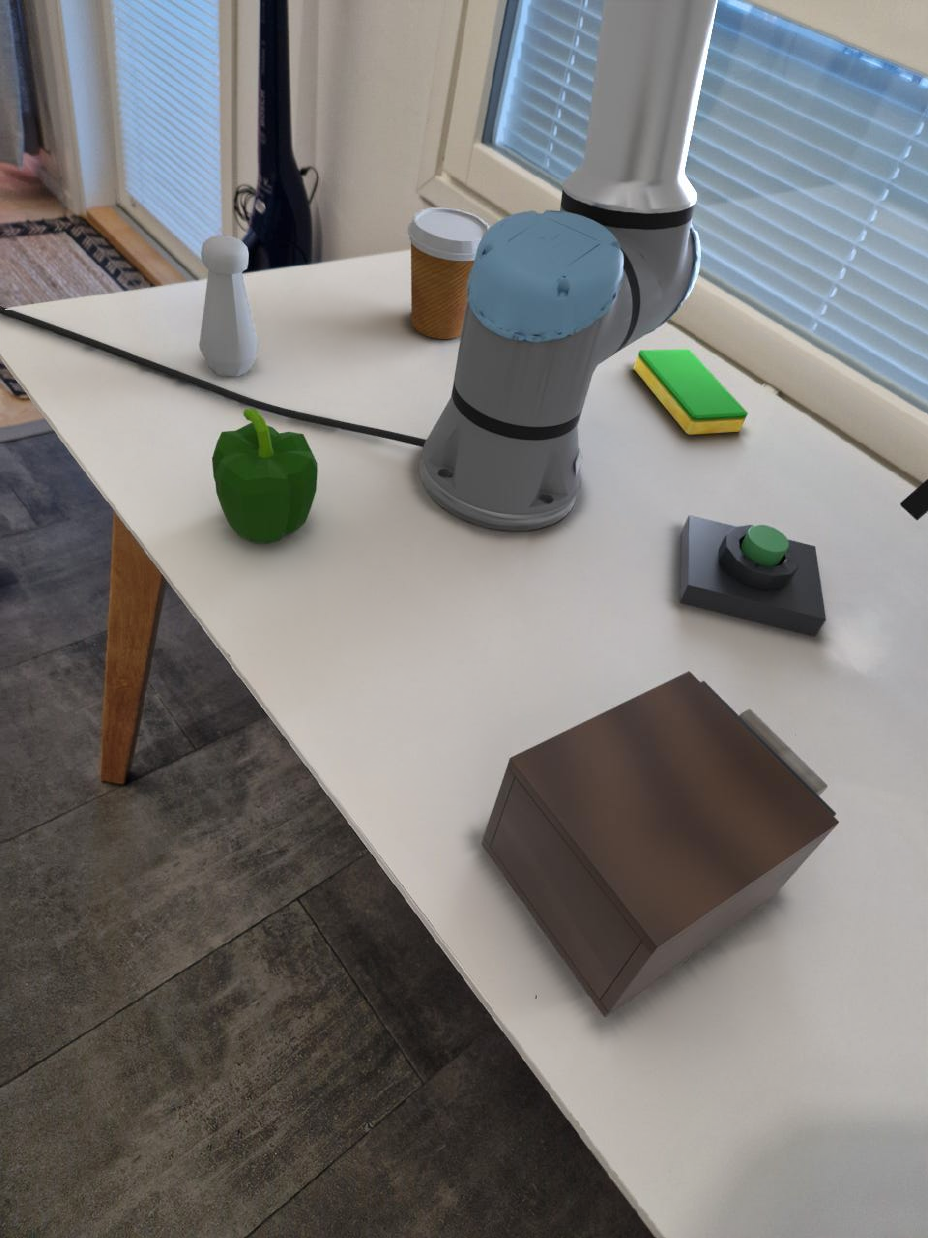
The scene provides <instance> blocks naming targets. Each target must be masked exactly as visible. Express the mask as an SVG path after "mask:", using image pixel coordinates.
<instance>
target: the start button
mask: <svg viewBox="0 0 928 1238" xmlns="http://www.w3.org/2000/svg"><path fill="white" fill-rule="evenodd" d="M787 539H788V538H787V537H786V535H785V534H784V533H783V532H781V531H780V530H778V529H777V528H775V527H772V526H770V525H766V524H756V525H754V526H753V527H751V528H750V529H749V530H748V532H747V534H746V536H745V538H744V540H743V542H742V544H741V551H742V552H743V553H744V554H745V556H746V557H748V558H750V559H751V560H753V561H755V562H756V563H758V564H762V565H766V566H776V565H778V564H779V563H780V561H781V560H782V558H783V556H784V554H785V552H786V551H787V549H788V547H789V542H788V540H789V539H788V540H787Z"/></svg>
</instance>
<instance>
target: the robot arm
mask: <svg viewBox="0 0 928 1238" xmlns="http://www.w3.org/2000/svg"><path fill="white" fill-rule="evenodd" d="M717 5H718V0H603V5H602V13H601V21H600V29H599V38H598V45H597V52H596V62H595V69H594V70H595V71H594V76H593V84H592V92H591V99H590V107H589V114H588V124H587V132H586V138H585V147H584V155H583V160H582V162H581V164H580V165H579V166H578V167H577V168H576V169H575V170H574V171H572V172H571V173H570V174H569V175H568V176H567V177H566V178H565V179H563V180H564V181H563V183H562V189H561V197H560V198H561V199H560V207H559V210H554V209H545V211H544V212H543V213H540V212H537V211H536V210H534V209H533V210H526V211H525V210H524V211H520V212H515V213H513V214H510V215H507V216H506V217H503V218H502V219H500V220H498V221H496V222H495V223H494V224H493V225H491V226H490V228H489V229H488V230H487V232H486V233H485V234H484V236H483V237H482V239H481V241H480V243H479V245H478V248H477V252H476V256H475V261H474V264H473V266H472V268H471V271H470V275H469V279H468V283H467V301H466V308H465V314H464V320H463V327H462V333H461V335H460V340H459V346H458V352H457V359H456V366H455V371H454V377H453V383H452V390H451V395H450V398H449V400H448V401H447V403H446V405H445V407H444V408H443V410H442V412H441V414H440V415H439V417H438V419H437V421H436V423H435V424H434V426H433V428H432V430H431V432H430V433H429V435H428V437H427V438H422V437H421V438H420V437H418V436H412V435H408V434H403V433H399V432H395V431H390V430H387V429H386V430H385V429H381V428H376V427H371V426H366V425H361V424H357V423H352V422H346V421H343V420H338V419H334V418H329V417H325V416H320V415H315V414H312V413H311V414H310V413H307V412H301V411H297V410H293V409H289V408H285V407H281V406H278V405H274V404H270V403H266V402H263V401H261V400H257V399H254V398H253V397H252V398H251V397H248V396H246V395H243V394H240V393H237V392H234V391H232V390H230V389H227V388H225V387H222V386H219V385H217V384H214V383H212V382H210V381H206V380H204V379H201V378H198V377H195V376H194V375H191V374H187V373H185V372H182V371H180V370H176V369H174V368H171V367H169V366H166V365H163V364H161V363H158V362H155V361H153V360H150V359H147V358H144V357H142V356H139V355H136V354H134V353H131V352H129V351H126V350H123V349H120V348H117V347H115V346H112V345H110V344H108V343H105V342H102V341H99V340H97V339H94V338H91V337H88V336H85V335H83V334H80V333H77V332H74V331H71V330H69V329H66V328H64V327H62V326H58V325H56V324H53V323H50V322H47V321H44V320H42V319H39V318H36V317H33V316H31V315H28V314H26V313H22V312H19V311H16V310H13V309H11V310H5V309H9V308H8V307H5V306H2V305H0V315H3V316H5V317H8V318H12V319H14V320H17V321H20V322H23V323H26V324H28V325H31V326H35V327H36V328H39V329H42V330H46V331H48V332H51V333H52V334H53V333H54V334H56V335H58V336H62V337H65V338H67V339H70V340H72V341H75V342H78V343H80V344H83V345H86V346H88V347H91V348H94V349H96V350H100V351H102V352H105V353H107V354H110V355H113V356H115V357H117V358H120V359H124V360H125V361H128V362H132V363H133V364H135V365H139V366H142V367H145V368H148V369H150V370H153V371H156V372H158V373H161V374H163V375H166V376H169V377H171V378H174V379H177V380H179V381H182V382H185V383H188V384H190V385H193V386H195V387H199V388H201V389H204V390H206V391H208V392H211V393H214V394H217V395H219V396H222V397H224V398H227V399H229V400H232V401H234V402H237V403H240V404H241V405H242V404H243V405H245V406H249V407H250V408H253V409H257V410H261V411H264V412H268V413H271V414H274V415H278V416H281V417H285V418H288V419H294V420H297V421H298V420H299V421H302V422H306V423H307V422H308V423H312V424H317V425H320V426H326V427H331V428H336V429H340V430H344V431H347V432H348V431H349V432H353V433H358V434H363V435H367V436H372V437H378V438H382V439H386V440H391V441H395V442H399V443H404V444H409V445H411V446H417V447H422V451H421V459H420V466H419V474H420V479H421V480H420V481H421V482H422V484H423V487H424V489H425V490H426V492H427V493H428V495H429V496H430V497H431V498H432V499H433V500H434V501H435V502H436V503H437V504H438V505H439V506H441V507H442V508H443V509H444V510H445V511H447V512H448V513H451V515H454V516H456V517H458V518H460V519H462V520H464V521H467V522H469V523H471V524H474V525H477V526H481V527H484V528H489V529H494V530H500V531H508V532H509V531H510V532H511V531H513V532H521V531H522V532H523V531H533V530H538V529H542V528H545V527H549V526H552V525H554V524H555V523H558V522H559V521H560V520H562V519H563V518H565V517H566V516H567V515H568V514H569V513H570V512H571V510H572V509H573V508H574V505H575V504H576V500H577V497H578V495H579V491H580V488H581V483H582V470H581V469H582V468H581V464H582V462H583V445H581V447H580V441H579V429H578V428H579V427H578V426H579V422H580V418H581V414H582V413H583V412H582V411H583V408H584V405H585V402H586V399H587V395H588V391H589V388H590V384H591V382H592V378H593V375H594V373H595V371H596V369H597V367H598V366H599V365H600V364H602V363H603V362H605V361H607V360H608V359H610V358H611V357H612V356H614V355H615V354H617V353H618V352H620V351H622V350H623V349H625V348H626V347H628V346H629V345H632V344H634V342H636V341H638V340H639V339H641V338H643V337H644V336H646V335H648V334H651V333H652V332H654V331H655V330H657V329H658V328H660V327H662V326H663V325H665V323H667V322H668V321H669V320H670V319H671V318H672V317H673V315H674V314H676V313H677V311H678V310H679V309H680V308H681V307H682V306H683V305H684V304H685V302H686V301H687V300H688V298H689V296H690V294H691V292H692V291H693V289H694V287H695V284H696V282H697V279H698V276H699V272H700V268H701V258H702V257H701V255H702V254H701V242H700V237H699V234H698V232H697V230H695V227H694V225H693V218H694V212H695V207H696V202H697V195H698V194H697V192H696V190H695V188H694V187H693V185H692V184H691V182H690V181H689V179H688V178H687V176H686V175H685V168H686V163H687V158H688V152H689V148H690V142H691V138H692V133H693V128H694V124H695V123H694V122H695V117H696V112H697V107H698V102H699V97H700V91H701V88H702V87H701V86H702V82H703V77H704V72H705V66H706V61H707V58H708V57H707V56H708V52H709V51H708V49H709V46H710V41H711V36H712V30H713V26H714V20H715V15H716V10H717V7H718V6H717ZM899 505H900V507H901V508H902V509H903V510H905V511H906V512H907V513H908V514H909V515H910V516H911V517H912V518H914V520H915V521H918V520H920V519H921V518H922V517H924V516H925V515H926V514H927V513H928V478H927V479H925V481H924V482H922V483H921V484H920V485H919V486H918V487H917V488H915V489H914V490H913V491H912V492H910V494H908V495H907V497H905V498H904V499H903V500H902V501H900V502H899Z"/></svg>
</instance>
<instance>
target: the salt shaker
mask: <svg viewBox="0 0 928 1238" xmlns="http://www.w3.org/2000/svg"><path fill="white" fill-rule="evenodd" d="M200 257H201V262H202V265H203V266H204V267H205V268H206V269H207V270H208V272H207V279H206V288H205V295H204V303H203V312H202V319H201V328H200V336H199V337H200V338H199V345H198V346H199V350H200V352H201V355H202V356H203V359H204V361H205V362H206V364H207V367H208V368H209V369H210V370H212V371H213V372H214V373H216V374H217V375H218V376H222V377H235V378H237V377H238V378H239V377H241V376H242V375H244V374H246V373H248V372H250V371H251V369H252V367H253V365H254V363H255V360H256V359H257V357H258V352H259V342H258V341H259V340H258V336H257V332H256V328H255V322H254V320H253V314H252V310H251V306H250V302H249V298H248V293H247V288H246V284H245V280H244V274H243V272H244V271H246V270H247V269H248V267H249V257H250V253H249V248H248V246H247V245H246V244H245V243H244V242H243V241H242V240H241V239H239V238H237V237H234V236H230V235H227V234H226V235H224V234H223V235H221V234H220V235H219V234H217V235H213V236H210V237H208V238H206V239H205V240H204V241H203V242H202V245H201V251H200Z"/></svg>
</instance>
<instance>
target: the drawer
mask: <svg viewBox="0 0 928 1238" xmlns="http://www.w3.org/2000/svg"><path fill="white" fill-rule="evenodd" d="M700 682H701V683H702V684H703V685H704V686H705V687H706V688H707V689H708V690H709V691H710V692H711V693H712V694H713V695H714V696H715V697H716V699H717V700H718V701H719V702H720V703H721V704H722V705H723V706H724V707H725V708H726V709H727V710H728V711H729V712H730V713H731V714H732V715H733V716H734V717H735V718H736V719H737V720H738V721H739V722H740V723H741V724H742V725H743V726H744V727H745V728H746V729H747V730H748V731H749V732H750V733H751V734H752V735H753V736H754V737H755V738H756V739H757V740H758V741H759V742H760V743H761V744H762V745H763V746H764V747H765V748H766V749H767V750H768V751H769V752H770V753H771V754H772V755H773V756H774V757H775V758H776V759H777V760H778V761H779V762H780V763H781V764H782V765H783V766H784V767H785V768H786V769H787V770H788V771H789V772H790V773H791V774H792V775H793V776H794V777H795V778H796V779H797V780H798V781H799V782H800V783H801V784H802V785H803V786H804V787H805V788H806V789H807V790H808V791H809V792H810V793H811V794H812V795H813V796H814V797H815V798H816V799H817V800H818V801H819V802H820V803H821V804H822V805H823V806H824V807H825V808H826V809H827V810H828V811H829V812H830V813H831V814H832V815H833V816H834V817H835V818H836V816H837V812H836V811H835V810H834V809H833V808H832V807H831V806H830V805H829V804H828V803H827V802H826V801H825V800H824V799H823V798H822V797H821V796H820V795H822V794H823V793H824V792H825V791H826V790H827V788H828V784H827V783H826V782H825V781H824V780H823V779H822V778H821V777H820V776H819V775H818V774H817V773H816V772H815V771H814V770H813V769H812V768H811V767H810V766H809V765H808V764H807V763H806V762H805V761H804V760H803V759H802V758H801V757H799V755H798V754H797V753H795V751H794V750H792V748H791V747H790V746H789V745H788V744H786V742H785V741H783V740H782V739H781V738H780V736H778V734H776V732H775V731H773V730H772V729H771V728H770V727H769V726H768V724H766V723H765V722H764V721H763V720H762V719H761V718H760V717H759V716H758V715H757V713H755V712H754V711H753V710H752V709H751V708H748V709H745V710H744V711H742V712H741V713H740V714H738V713H737V712H736V711H735V710H734V709H733V708H732V707H731V706H730V705H729V704H728V703H727V702H726V701H725V700H724V699H723V698H722V697H721V696H720V695H719V694H718V693H717V692H716V691H715V690H714V689H713V688H712V686H710V685H709V684H708V683H707V682H706V681H705V680H701V681H700Z"/></svg>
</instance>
